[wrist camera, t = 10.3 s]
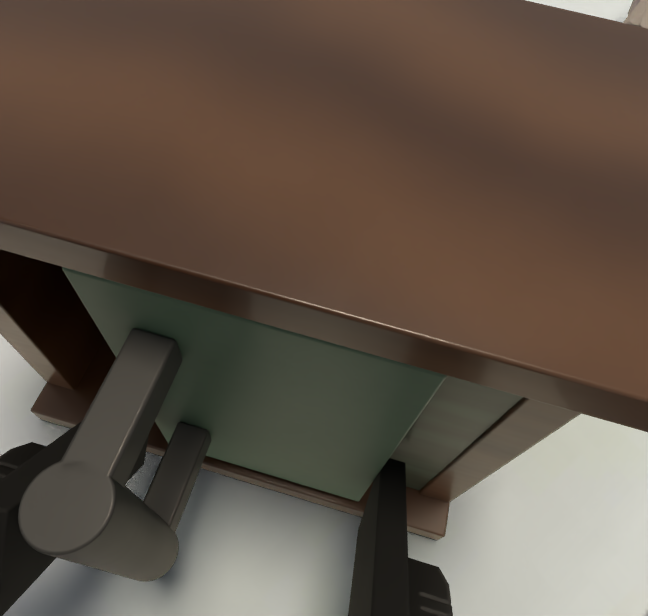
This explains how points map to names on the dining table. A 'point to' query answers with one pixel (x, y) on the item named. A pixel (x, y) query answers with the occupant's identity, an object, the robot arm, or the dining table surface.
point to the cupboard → (341, 202)
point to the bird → (638, 14)
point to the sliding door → (209, 423)
